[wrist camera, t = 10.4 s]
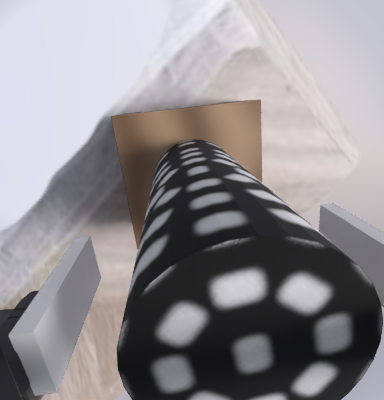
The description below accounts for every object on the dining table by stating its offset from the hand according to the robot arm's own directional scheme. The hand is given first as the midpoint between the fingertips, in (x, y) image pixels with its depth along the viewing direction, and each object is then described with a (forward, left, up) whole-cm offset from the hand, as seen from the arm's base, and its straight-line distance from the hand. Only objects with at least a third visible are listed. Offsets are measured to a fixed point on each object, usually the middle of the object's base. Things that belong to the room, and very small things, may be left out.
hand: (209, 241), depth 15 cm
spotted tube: (0, 0, -13) cm, 13 cm away
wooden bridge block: (0, 0, -21) cm, 21 cm away
